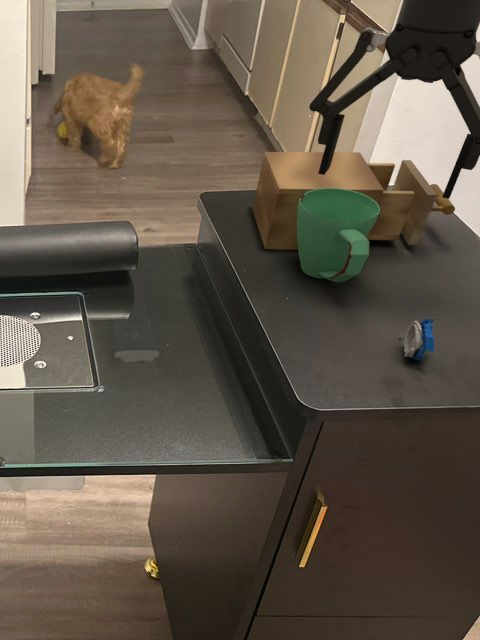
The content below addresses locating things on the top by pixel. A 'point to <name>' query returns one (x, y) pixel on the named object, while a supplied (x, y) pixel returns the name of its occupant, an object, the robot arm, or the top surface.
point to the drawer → (405, 203)
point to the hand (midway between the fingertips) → (383, 181)
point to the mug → (334, 232)
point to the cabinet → (303, 189)
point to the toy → (418, 339)
